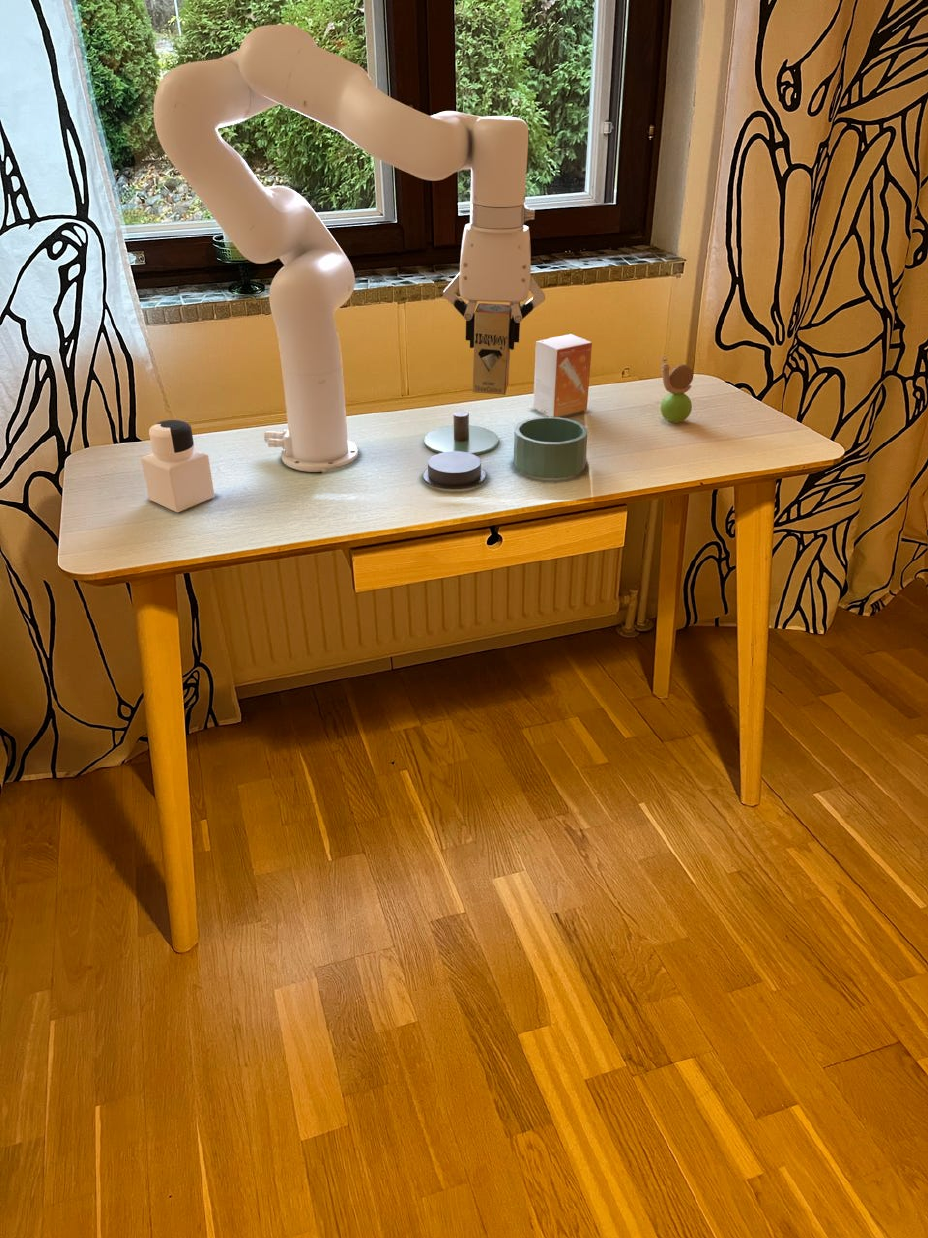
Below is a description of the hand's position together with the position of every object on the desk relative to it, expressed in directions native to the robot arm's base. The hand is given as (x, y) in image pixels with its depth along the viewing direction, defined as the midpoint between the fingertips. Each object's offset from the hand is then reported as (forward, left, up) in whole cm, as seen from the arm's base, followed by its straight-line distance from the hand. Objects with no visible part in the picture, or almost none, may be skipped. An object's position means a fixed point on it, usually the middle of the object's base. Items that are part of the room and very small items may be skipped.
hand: (492, 344), depth 145 cm
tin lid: (-6, +11, -20) cm, 24 cm away
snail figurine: (+31, +24, -21) cm, 45 cm away
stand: (-6, -3, -21) cm, 22 cm away
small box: (+11, +28, -21) cm, 37 cm away
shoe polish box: (0, 0, -7) cm, 7 cm away
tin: (+9, +3, -21) cm, 23 cm away
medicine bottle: (-47, -13, -21) cm, 53 cm away
